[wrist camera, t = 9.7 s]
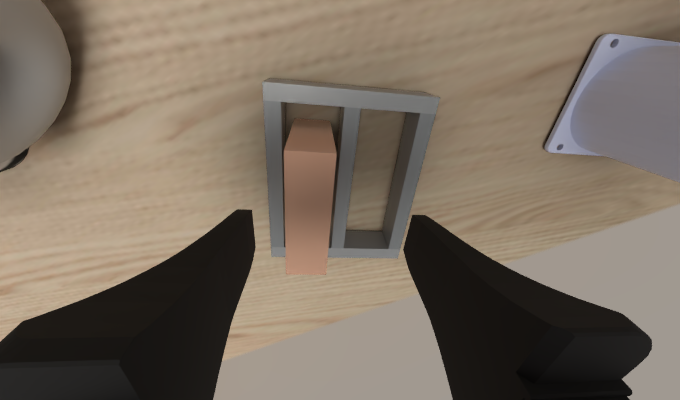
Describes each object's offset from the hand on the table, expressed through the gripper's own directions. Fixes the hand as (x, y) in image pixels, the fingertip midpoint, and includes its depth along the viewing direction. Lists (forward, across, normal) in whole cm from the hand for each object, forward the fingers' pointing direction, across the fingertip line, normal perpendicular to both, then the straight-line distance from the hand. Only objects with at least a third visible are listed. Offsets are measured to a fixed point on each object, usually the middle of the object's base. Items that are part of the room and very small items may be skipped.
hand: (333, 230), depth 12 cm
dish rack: (+9, -1, +1) cm, 9 cm away
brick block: (+9, +1, +1) cm, 10 cm away
